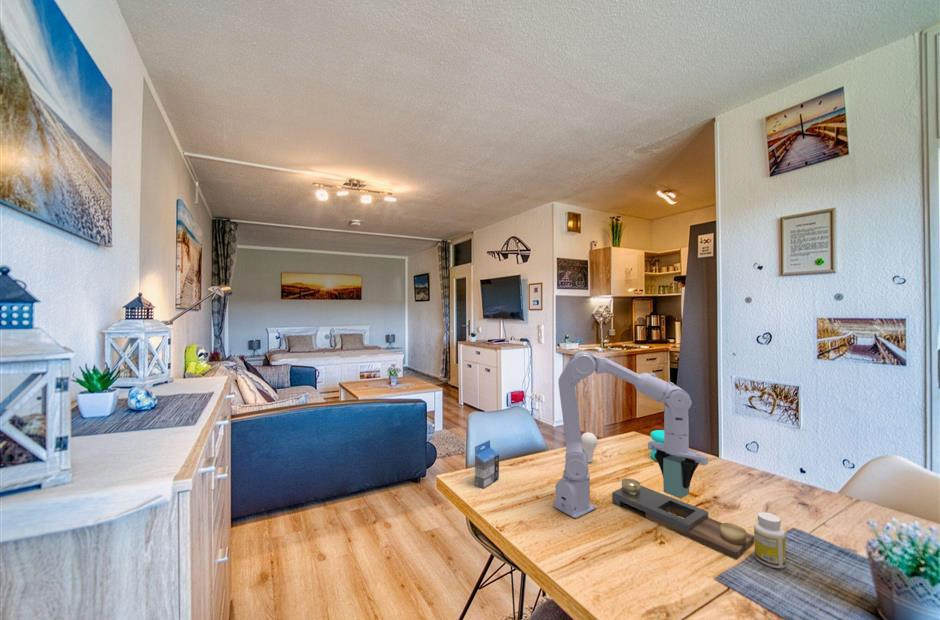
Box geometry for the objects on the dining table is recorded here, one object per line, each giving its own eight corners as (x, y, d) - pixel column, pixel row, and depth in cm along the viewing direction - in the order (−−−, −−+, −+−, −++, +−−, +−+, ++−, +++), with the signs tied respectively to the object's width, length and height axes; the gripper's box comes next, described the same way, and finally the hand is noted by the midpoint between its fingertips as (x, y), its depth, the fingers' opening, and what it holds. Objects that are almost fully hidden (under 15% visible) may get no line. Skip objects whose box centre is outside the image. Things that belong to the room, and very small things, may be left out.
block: (681, 498, 96) (680, 463, 96) (663, 492, 100) (663, 458, 100) (689, 493, 99) (689, 459, 99) (671, 487, 102) (671, 454, 102)
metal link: (688, 537, 91) (688, 515, 91) (612, 502, 108) (612, 484, 108) (708, 523, 98) (708, 502, 98) (633, 492, 115) (633, 474, 115)
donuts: (659, 437, 136) (645, 429, 146) (659, 465, 136) (645, 454, 146) (686, 437, 137) (669, 428, 147) (686, 464, 136) (669, 454, 146)
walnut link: (736, 559, 83) (736, 542, 83) (645, 517, 100) (645, 503, 100) (754, 542, 90) (754, 525, 90) (666, 505, 107) (666, 492, 107)
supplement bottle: (771, 553, 86) (771, 510, 86) (792, 569, 80) (792, 523, 80) (748, 553, 85) (748, 510, 86) (768, 569, 80) (767, 523, 80)
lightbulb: (586, 466, 134) (586, 435, 134) (577, 460, 140) (577, 430, 140) (601, 464, 136) (600, 434, 136) (591, 458, 142) (591, 429, 142)
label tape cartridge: (484, 489, 117) (484, 449, 117) (474, 485, 119) (474, 447, 119) (499, 479, 124) (499, 442, 124) (489, 476, 126) (489, 439, 126)
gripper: (712, 436, 96) (713, 489, 96) (657, 423, 108) (657, 470, 107) (700, 442, 92) (700, 497, 91) (643, 427, 103) (644, 476, 103)
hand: (676, 483), depth 99 cm, fingers closed on block, 4 cm apart
